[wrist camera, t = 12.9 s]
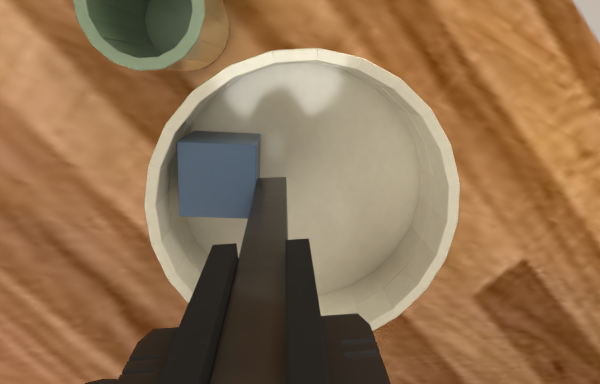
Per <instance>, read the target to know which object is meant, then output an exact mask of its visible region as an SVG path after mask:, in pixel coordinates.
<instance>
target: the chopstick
mask: <svg viewBox="0 0 600 384" xmlns="http://www.w3.org/2000/svg"><path fill="white" fill-rule="evenodd" d="M285 240H288V210H287V182H286V177H271V178H258V179H257V183H256V188H255V192H254V196H253V200H252V204H251V208H250V212H249V216H248V221H247V225H246V229H245V233H244V237H243V241H242V245H241V249H240V254H239V258H238V262H237V266H236V270H235V274H234V278H233V283H232V287H231V291H230V295H229V299H228V303H227V307H226V312H225V316H224V320H223V324H222V328H221V332H220V336H219V341H218V345H217V349H216V353H215V357H214V361H213V366H212V370H211V374H210V378H209V382H208V384H287V344H286V259H285Z"/></svg>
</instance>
